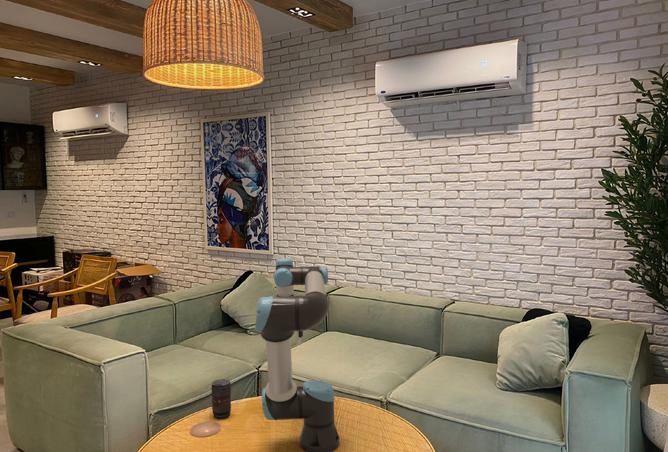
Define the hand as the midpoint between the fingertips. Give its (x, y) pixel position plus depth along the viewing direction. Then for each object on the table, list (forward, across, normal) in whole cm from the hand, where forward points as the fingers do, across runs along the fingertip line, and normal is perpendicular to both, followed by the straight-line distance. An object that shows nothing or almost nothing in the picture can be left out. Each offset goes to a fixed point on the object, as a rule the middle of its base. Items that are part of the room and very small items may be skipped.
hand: (286, 342), depth 218 cm
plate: (+30, +18, +32) cm, 47 cm away
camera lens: (+30, +21, +19) cm, 41 cm away
